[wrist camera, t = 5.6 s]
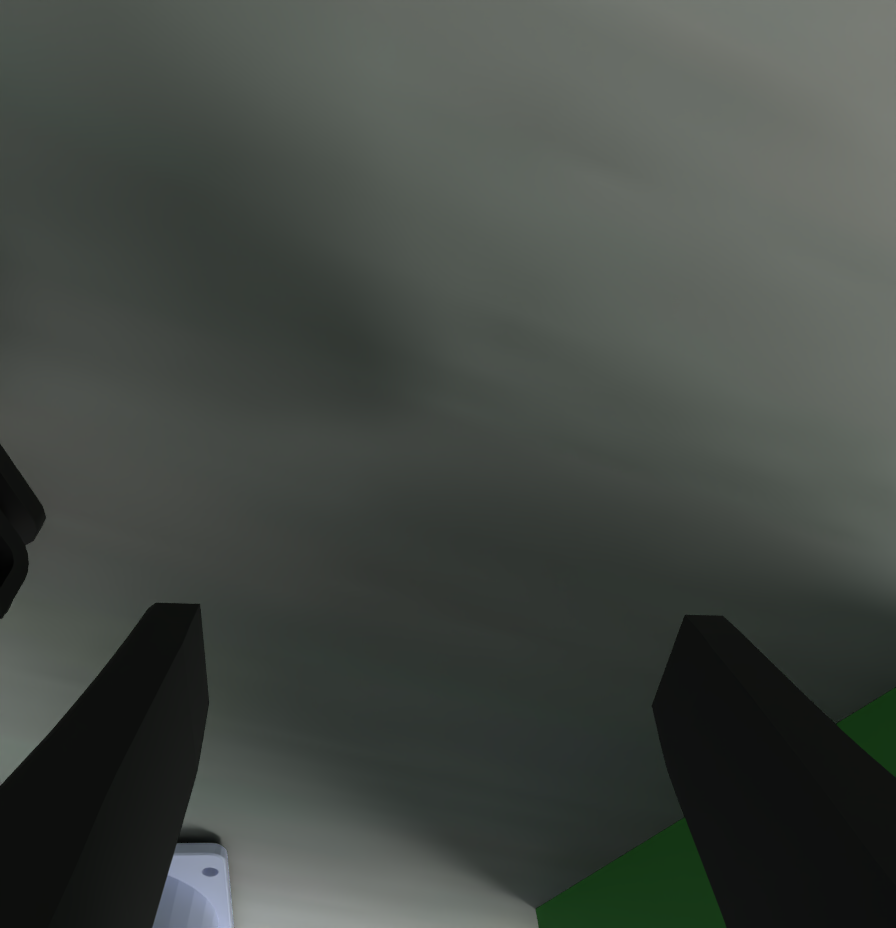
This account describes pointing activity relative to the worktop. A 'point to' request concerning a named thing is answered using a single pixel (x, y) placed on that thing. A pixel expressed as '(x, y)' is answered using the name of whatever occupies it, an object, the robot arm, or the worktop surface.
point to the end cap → (15, 529)
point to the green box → (685, 860)
